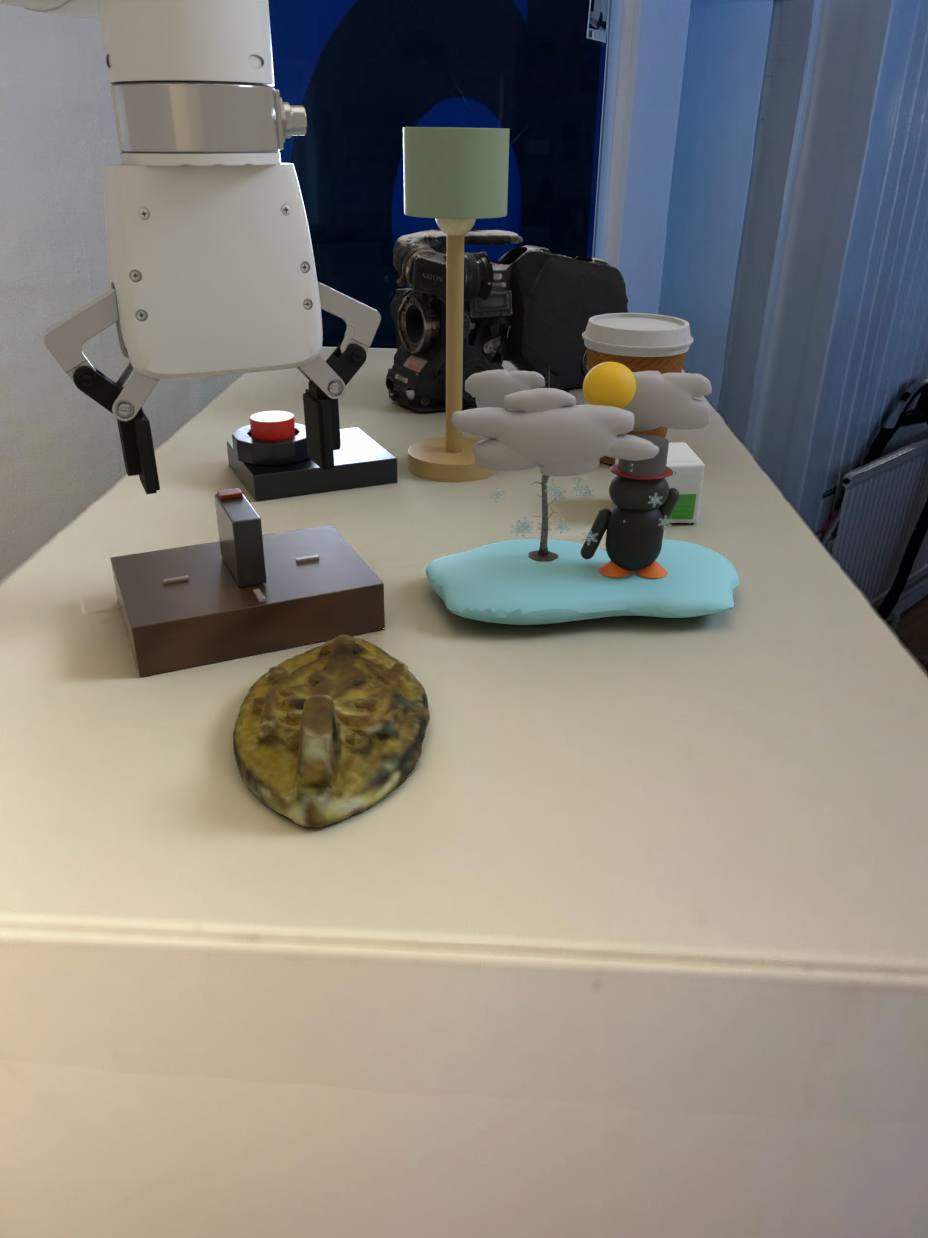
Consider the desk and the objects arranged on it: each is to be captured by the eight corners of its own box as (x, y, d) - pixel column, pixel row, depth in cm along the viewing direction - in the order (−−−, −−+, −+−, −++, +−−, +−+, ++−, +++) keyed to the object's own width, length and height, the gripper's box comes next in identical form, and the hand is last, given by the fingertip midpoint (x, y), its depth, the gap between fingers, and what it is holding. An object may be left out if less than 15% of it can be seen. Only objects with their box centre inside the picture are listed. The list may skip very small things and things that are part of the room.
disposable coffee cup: (608, 478, 80) (621, 334, 75) (555, 447, 88) (563, 315, 83) (700, 465, 84) (718, 327, 78) (641, 436, 91) (654, 309, 86)
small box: (625, 526, 70) (631, 463, 68) (610, 499, 76) (615, 440, 73) (699, 525, 71) (708, 463, 69) (679, 499, 76) (686, 440, 74)
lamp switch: (257, 445, 75) (255, 424, 75) (247, 433, 78) (245, 412, 77) (300, 440, 77) (299, 419, 76) (289, 428, 80) (287, 408, 79)
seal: (261, 673, 53) (217, 852, 39) (243, 598, 51) (191, 760, 37) (425, 652, 53) (437, 824, 40) (415, 577, 51) (424, 731, 37)
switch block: (252, 502, 74) (247, 453, 72) (225, 465, 82) (221, 420, 80) (397, 483, 78) (396, 436, 77) (359, 450, 87) (357, 407, 85)
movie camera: (422, 427, 90) (424, 231, 83) (349, 395, 104) (345, 225, 97) (669, 404, 105) (689, 234, 97) (576, 378, 119) (586, 229, 112)
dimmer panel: (139, 677, 50) (130, 625, 49) (117, 601, 58) (109, 554, 57) (385, 629, 55) (383, 581, 54) (334, 565, 63) (331, 521, 62)
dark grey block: (267, 583, 54) (260, 514, 52) (239, 588, 53) (231, 518, 51) (247, 551, 58) (240, 486, 56) (221, 555, 57) (213, 489, 55)
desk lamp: (429, 487, 78) (427, 126, 65) (394, 460, 84) (387, 126, 72) (514, 475, 81) (528, 128, 68) (475, 449, 87) (481, 128, 75)
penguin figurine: (713, 562, 65) (747, 337, 58) (765, 636, 55) (813, 377, 48) (424, 565, 64) (422, 336, 57) (427, 640, 54) (425, 377, 47)
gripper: (347, 132, 51) (362, 439, 59) (0, 130, 45) (69, 475, 52) (396, 131, 45) (405, 473, 53) (3, 129, 39) (80, 519, 46)
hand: (238, 474), depth 53 cm, fingers open, 9 cm apart
